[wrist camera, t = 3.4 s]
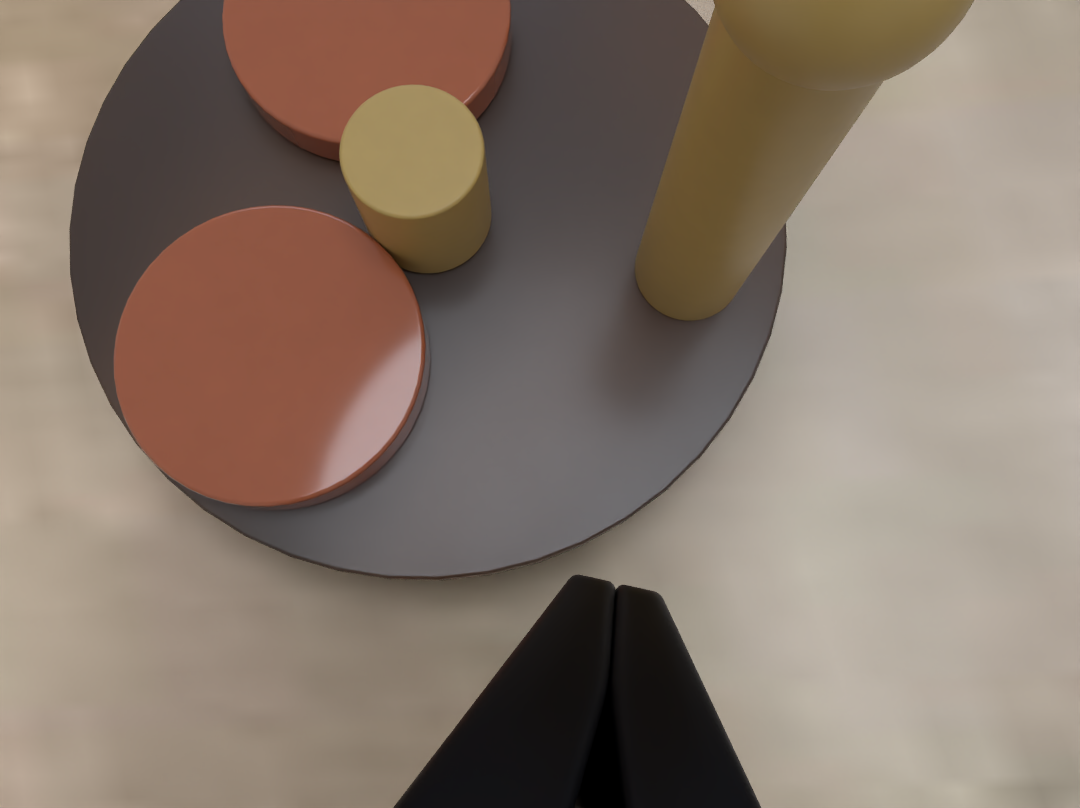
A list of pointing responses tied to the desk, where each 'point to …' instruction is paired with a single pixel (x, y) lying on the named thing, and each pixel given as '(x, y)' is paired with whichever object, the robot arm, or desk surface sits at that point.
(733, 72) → the peg and disc stand
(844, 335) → the desk surface
